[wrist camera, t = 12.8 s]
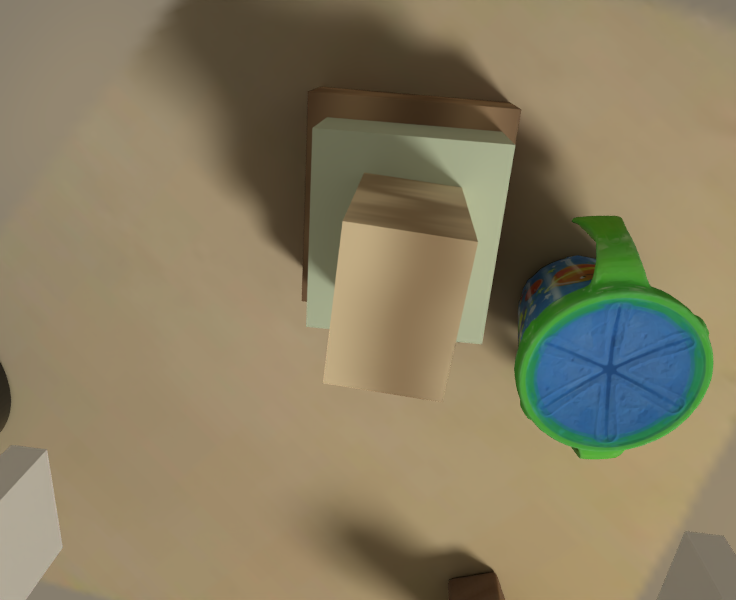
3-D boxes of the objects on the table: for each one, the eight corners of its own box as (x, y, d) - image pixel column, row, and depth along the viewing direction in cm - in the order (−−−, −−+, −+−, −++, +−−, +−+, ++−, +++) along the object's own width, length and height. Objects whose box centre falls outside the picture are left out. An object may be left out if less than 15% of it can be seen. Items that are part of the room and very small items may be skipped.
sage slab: (319, 293, 38) (306, 326, 33) (327, 117, 33) (312, 127, 29) (474, 308, 37) (481, 344, 33) (502, 131, 33) (515, 144, 28)
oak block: (347, 297, 32) (322, 382, 24) (364, 172, 30) (342, 221, 21) (436, 311, 32) (442, 402, 24) (461, 187, 29) (478, 242, 21)
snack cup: (623, 401, 44) (677, 495, 35) (484, 391, 45) (500, 481, 36) (673, 199, 38) (755, 249, 29) (510, 191, 39) (539, 236, 29)
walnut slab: (314, 274, 43) (301, 301, 38) (321, 86, 38) (307, 91, 33) (478, 290, 42) (485, 319, 38) (508, 101, 37) (521, 109, 32)
